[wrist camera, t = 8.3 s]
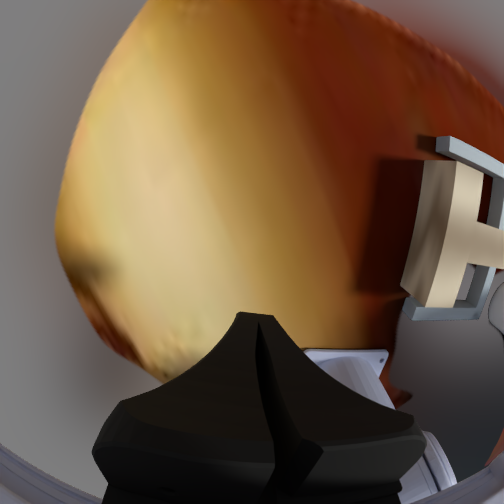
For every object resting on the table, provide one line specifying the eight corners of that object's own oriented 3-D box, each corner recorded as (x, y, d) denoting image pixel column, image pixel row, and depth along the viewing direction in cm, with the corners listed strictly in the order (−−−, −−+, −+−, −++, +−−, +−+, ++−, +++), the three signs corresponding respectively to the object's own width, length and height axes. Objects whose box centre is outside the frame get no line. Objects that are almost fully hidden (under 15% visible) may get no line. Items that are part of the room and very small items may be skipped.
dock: (468, 311, 21) (478, 319, 19) (401, 310, 20) (411, 320, 19) (500, 168, 17) (513, 170, 15) (436, 137, 16) (450, 135, 15)
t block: (468, 290, 20) (493, 307, 16) (399, 285, 20) (424, 307, 16) (491, 187, 17) (521, 193, 14) (424, 160, 17) (456, 161, 13)
